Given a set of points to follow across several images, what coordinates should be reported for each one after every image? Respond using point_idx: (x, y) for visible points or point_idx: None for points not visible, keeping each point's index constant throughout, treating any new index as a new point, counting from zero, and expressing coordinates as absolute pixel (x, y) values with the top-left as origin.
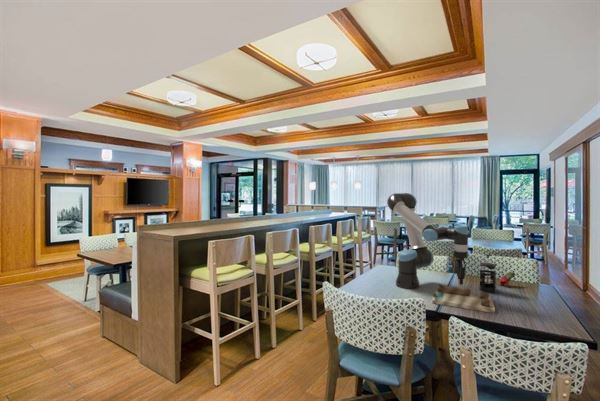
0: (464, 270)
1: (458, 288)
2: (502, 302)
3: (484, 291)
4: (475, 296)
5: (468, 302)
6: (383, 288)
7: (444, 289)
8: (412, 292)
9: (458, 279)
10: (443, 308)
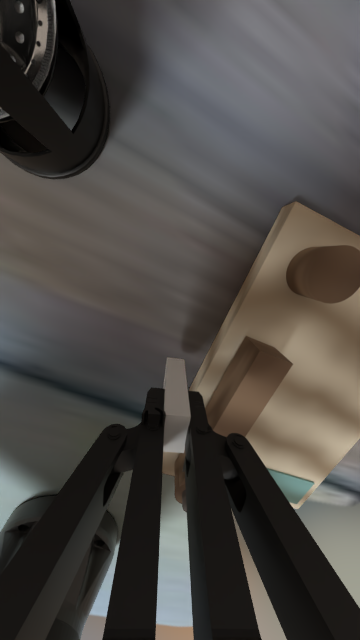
0: (354, 616)
1: (239, 419)
2: (318, 143)
3: (93, 158)
4: (270, 313)
5: (356, 389)
6: None
7: None
8: (163, 526)
9: (182, 446)
10: (346, 471)
